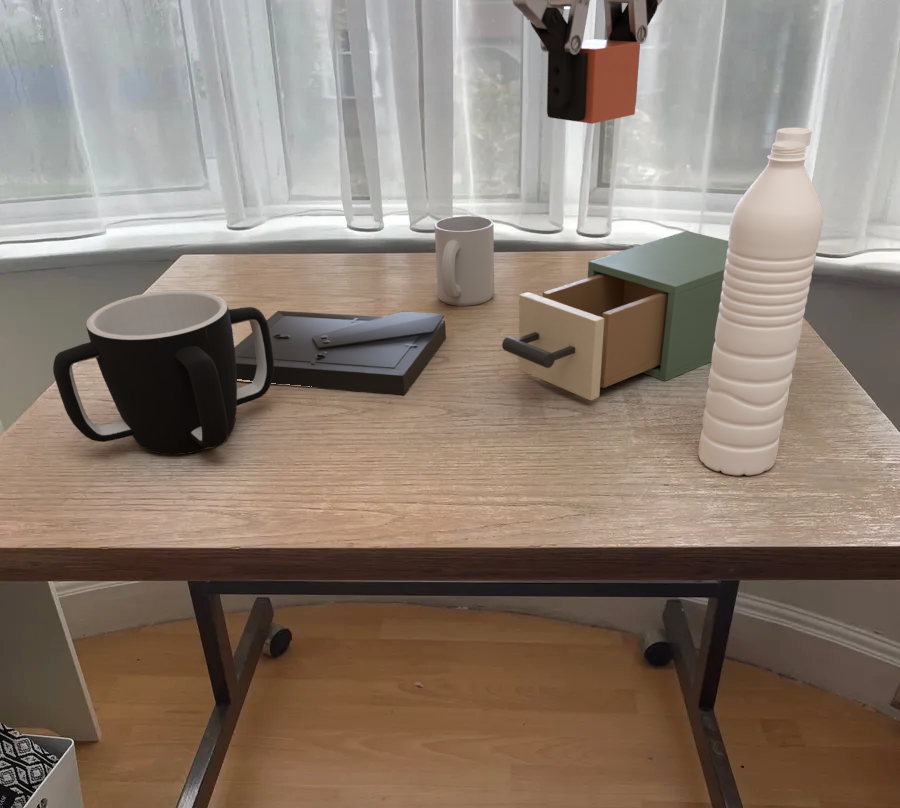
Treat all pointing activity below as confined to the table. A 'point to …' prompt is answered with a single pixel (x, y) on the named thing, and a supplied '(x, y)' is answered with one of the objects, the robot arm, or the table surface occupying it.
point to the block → (610, 79)
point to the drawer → (590, 333)
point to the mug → (167, 369)
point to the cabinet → (677, 293)
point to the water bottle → (761, 311)
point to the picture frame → (347, 350)
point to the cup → (465, 260)
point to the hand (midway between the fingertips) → (591, 110)
